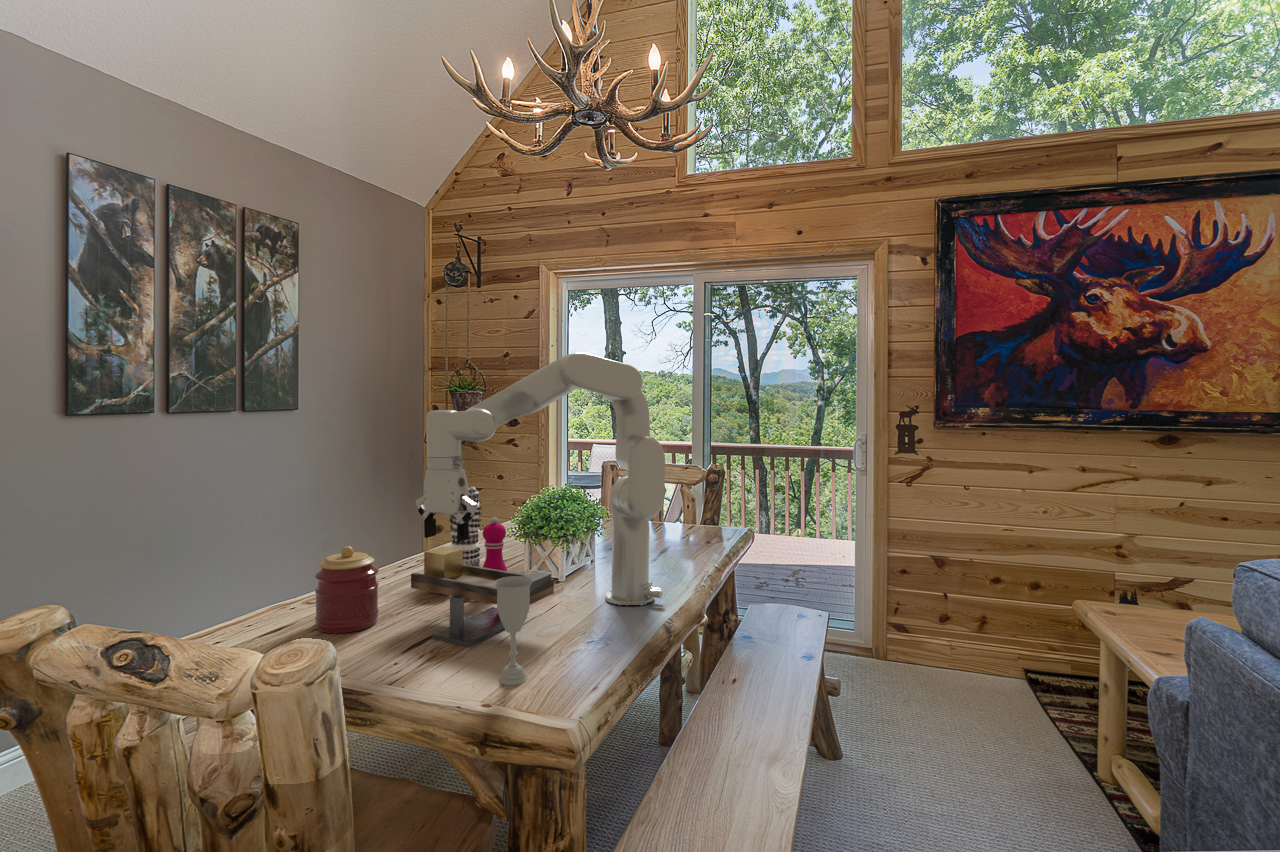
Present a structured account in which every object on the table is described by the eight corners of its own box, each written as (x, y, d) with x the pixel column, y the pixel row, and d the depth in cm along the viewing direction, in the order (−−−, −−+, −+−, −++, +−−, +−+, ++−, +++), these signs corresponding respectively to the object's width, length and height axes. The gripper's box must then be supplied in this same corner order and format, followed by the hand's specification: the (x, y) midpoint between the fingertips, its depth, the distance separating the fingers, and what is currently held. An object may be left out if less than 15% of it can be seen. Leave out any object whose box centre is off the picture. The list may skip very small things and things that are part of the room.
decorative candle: (476, 576, 182) (477, 489, 181) (444, 576, 183) (444, 489, 182) (485, 568, 192) (485, 485, 191) (454, 567, 192) (454, 485, 191)
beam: (554, 598, 141) (555, 572, 141) (519, 615, 129) (519, 587, 129) (449, 579, 154) (450, 555, 154) (409, 593, 142) (409, 568, 142)
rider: (462, 574, 148) (462, 549, 148) (444, 581, 143) (444, 554, 142) (442, 571, 150) (442, 546, 150) (424, 577, 145) (424, 551, 145)
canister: (391, 618, 147) (391, 542, 146) (348, 638, 135) (348, 555, 134) (346, 611, 151) (346, 538, 151) (301, 630, 139) (300, 549, 138)
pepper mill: (501, 597, 163) (501, 520, 163) (475, 595, 165) (475, 518, 164) (512, 589, 171) (512, 515, 170) (487, 587, 172) (487, 514, 171)
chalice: (496, 671, 120) (497, 576, 119) (533, 670, 120) (534, 575, 119) (491, 688, 112) (491, 587, 111) (530, 687, 113) (530, 587, 112)
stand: (526, 617, 149) (526, 578, 148) (469, 647, 131) (469, 603, 130) (492, 611, 153) (492, 573, 153) (431, 638, 135) (432, 595, 135)
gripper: (485, 463, 145) (487, 538, 146) (427, 461, 152) (429, 532, 153) (463, 467, 138) (465, 545, 139) (403, 464, 145) (406, 538, 146)
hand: (446, 538), depth 146 cm, fingers open, 9 cm apart
